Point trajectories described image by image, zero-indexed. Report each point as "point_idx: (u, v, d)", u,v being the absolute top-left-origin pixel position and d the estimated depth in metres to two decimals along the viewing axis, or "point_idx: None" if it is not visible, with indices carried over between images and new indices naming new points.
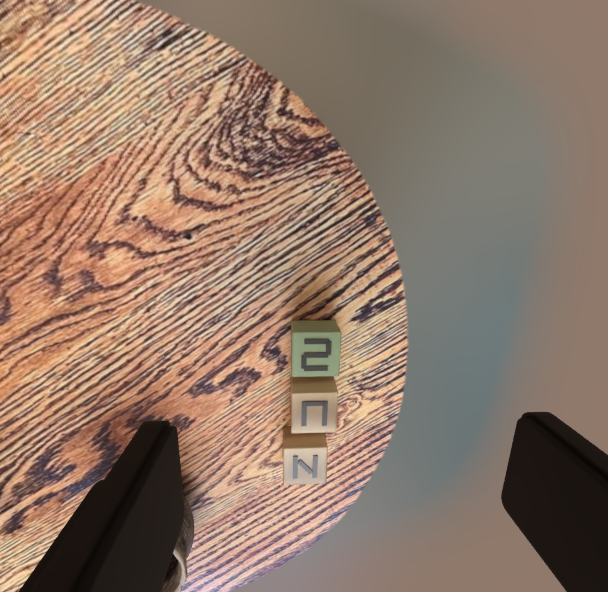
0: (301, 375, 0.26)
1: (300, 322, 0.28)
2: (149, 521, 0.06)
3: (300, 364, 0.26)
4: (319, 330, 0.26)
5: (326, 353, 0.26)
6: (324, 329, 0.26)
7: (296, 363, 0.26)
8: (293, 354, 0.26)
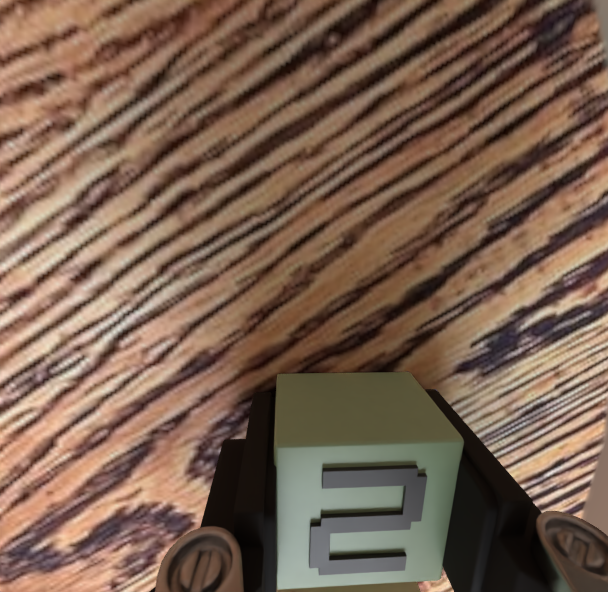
0: (309, 585, 0.07)
1: (304, 384, 0.09)
2: None
3: (308, 551, 0.07)
4: (377, 428, 0.07)
5: (401, 512, 0.07)
6: (394, 423, 0.07)
7: (291, 551, 0.07)
8: (280, 521, 0.07)
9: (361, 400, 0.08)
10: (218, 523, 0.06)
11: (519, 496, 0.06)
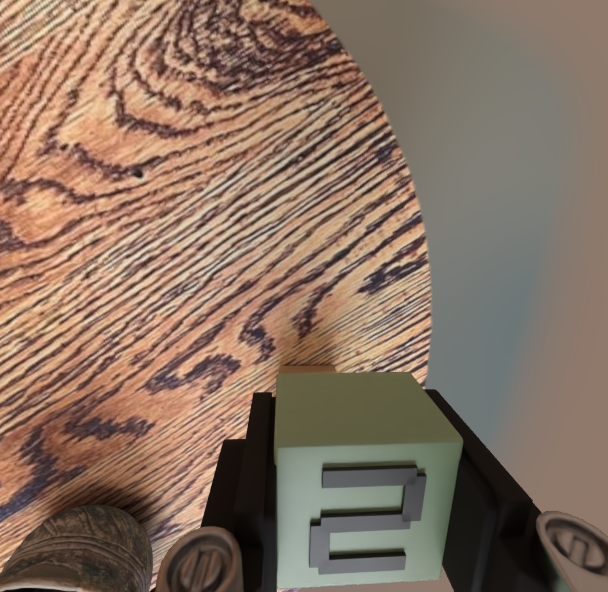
0: (309, 584, 0.07)
1: (304, 384, 0.09)
2: None
3: (308, 551, 0.07)
4: (377, 428, 0.07)
5: (401, 512, 0.07)
6: (394, 423, 0.07)
7: (291, 550, 0.07)
8: (280, 520, 0.07)
9: (361, 400, 0.08)
10: (218, 523, 0.06)
11: (519, 496, 0.06)
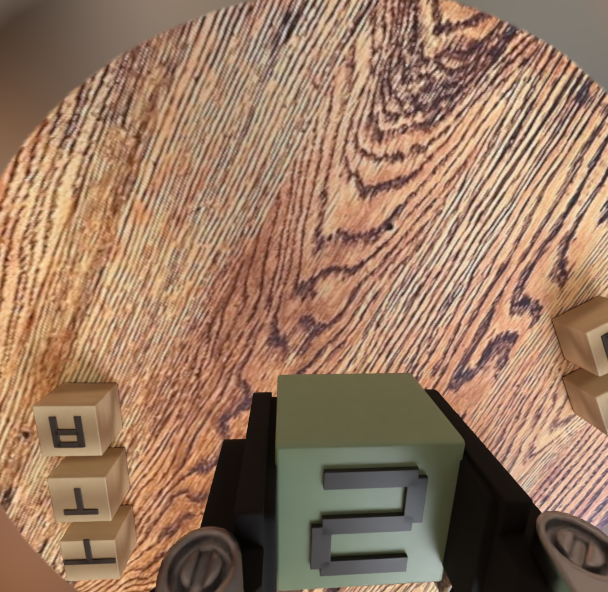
0: (311, 585, 0.07)
1: (305, 385, 0.09)
2: None
3: (309, 552, 0.07)
4: (378, 429, 0.07)
5: (403, 513, 0.07)
6: (396, 424, 0.07)
7: (292, 551, 0.07)
8: (281, 522, 0.07)
9: (362, 401, 0.08)
10: (218, 523, 0.06)
11: (519, 496, 0.06)
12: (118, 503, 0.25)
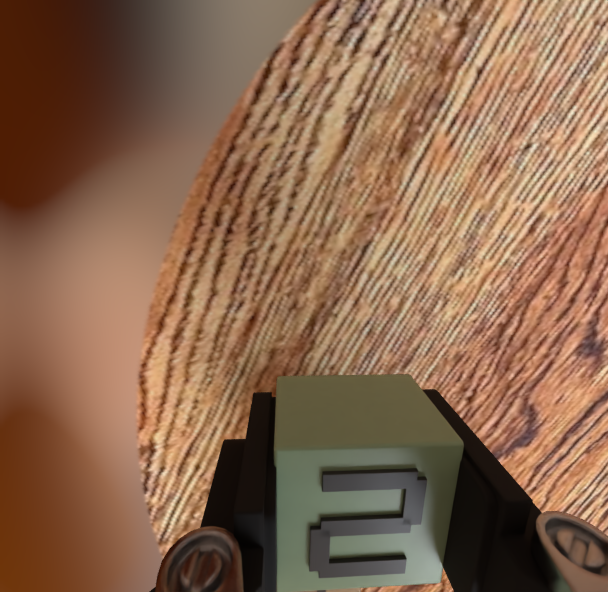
0: (309, 587, 0.07)
1: (304, 387, 0.09)
2: None
3: (308, 554, 0.07)
4: (377, 431, 0.07)
5: (401, 515, 0.07)
6: (394, 426, 0.07)
7: (291, 554, 0.07)
8: (280, 524, 0.07)
9: (361, 403, 0.08)
10: (218, 523, 0.06)
11: (519, 496, 0.06)
12: None
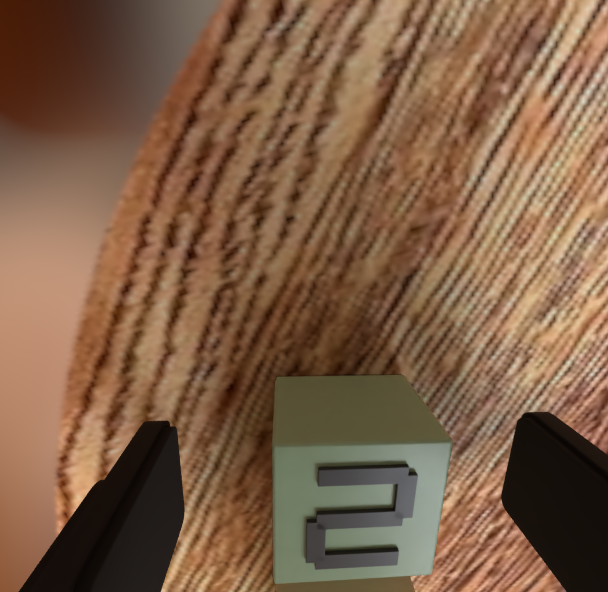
0: (306, 579, 0.08)
1: (301, 386, 0.09)
2: (149, 521, 0.06)
3: (304, 546, 0.07)
4: (370, 429, 0.07)
5: (394, 509, 0.07)
6: (387, 424, 0.07)
7: (288, 546, 0.07)
8: (278, 517, 0.07)
9: (356, 402, 0.08)
10: None
11: None
12: None
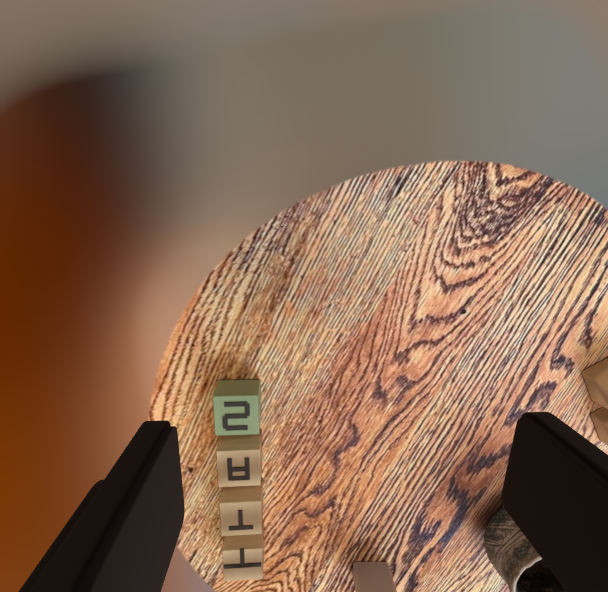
0: (223, 434, 0.29)
1: (225, 383, 0.30)
2: (149, 521, 0.06)
3: (222, 424, 0.28)
4: (238, 393, 0.28)
5: (245, 414, 0.28)
6: (243, 392, 0.29)
7: (218, 424, 0.28)
8: (215, 415, 0.28)
9: (239, 387, 0.29)
10: None
11: None
12: None
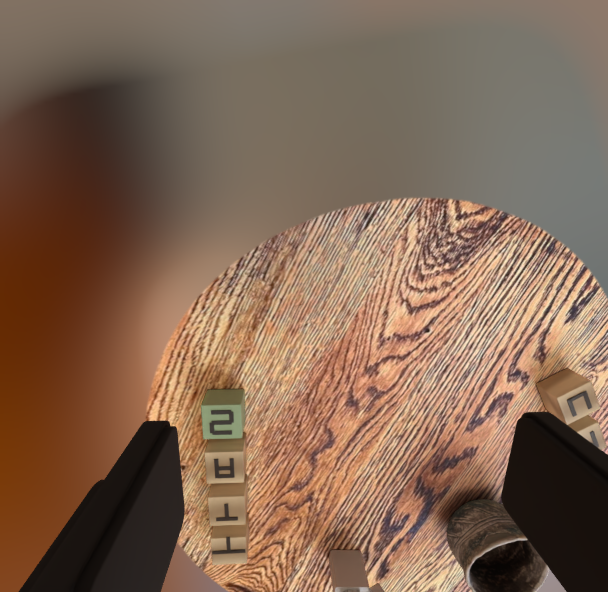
0: (210, 438, 0.33)
1: (213, 392, 0.34)
2: (149, 521, 0.06)
3: (209, 429, 0.32)
4: (224, 402, 0.32)
5: (229, 420, 0.32)
6: (228, 401, 0.32)
7: (205, 429, 0.32)
8: (203, 422, 0.32)
9: (224, 396, 0.33)
10: None
11: None
12: (246, 512, 0.37)
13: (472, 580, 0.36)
